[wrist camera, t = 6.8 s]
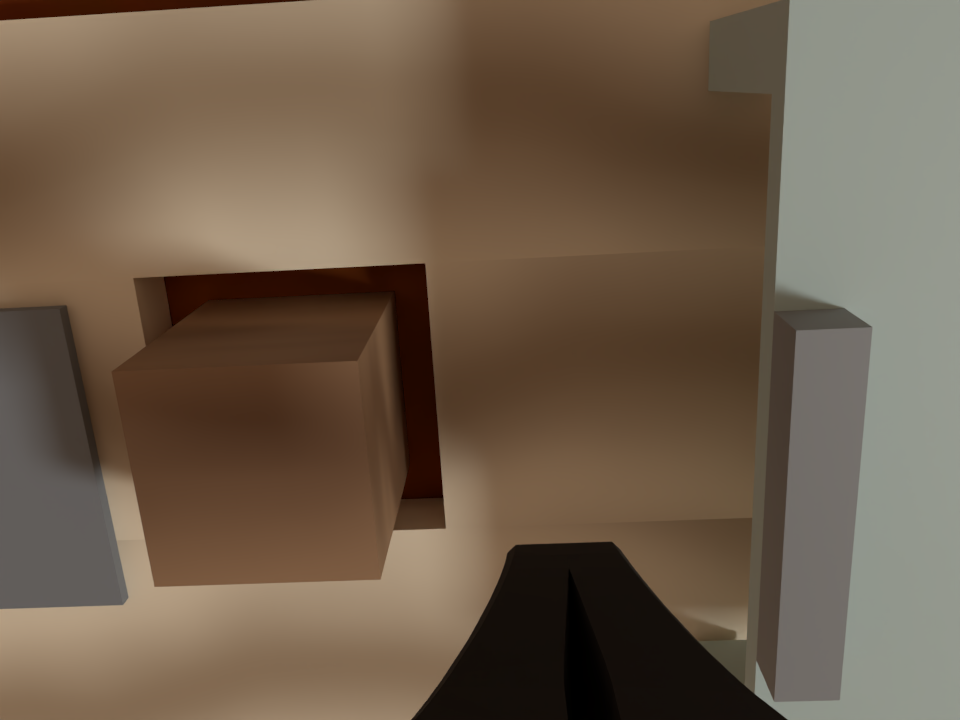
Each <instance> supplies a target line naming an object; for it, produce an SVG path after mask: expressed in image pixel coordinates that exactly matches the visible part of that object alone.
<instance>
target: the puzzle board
mask: <svg viewBox="0 0 960 720" xmlns="http://www.w3.org/2000/svg"><path fill="white" fill-rule="evenodd" d="M777 1H781V0H309V1H294V2H279V3H263V4H248V5H233V6H217V7H202V8H187V9H171V10H156V11H141V12H125V13H110V14H95V15H79V16H64V17H49V18H33V19H18V20H3V21H0V308H21V307H41V306H62V305H67V310H68V315H69V320H70V324H71V329H72V334H73V338H74V343H75V348H76V352H77V357H78V362H79V367H80V371H81V376H82V381H83V385H84V390H85V395H86V400H87V404H88V409H89V414H90V418H91V423H92V428H93V432H94V437H95V442H96V447H97V451H98V456H99V461H100V465H101V470H102V475H103V479H104V484H105V489H106V494H107V498H108V503H109V508H110V512H111V517H112V522H113V527H114V531H115V536H116V541H117V545H118V550H119V555H120V559H121V564H122V569H123V574H124V578H125V583H126V588H127V592H128V597H129V598H128V599H127V600H126V602H125V603H124V605H111V606H80V607H49V608H18V609H0V720H411V719H412V718H413V717H414V716H415V714H416V713H417V712H418V711H419V710H420V708H421V707H422V706H423V704H424V703H425V702H426V701H427V699H428V698H429V697H430V695H431V694H432V692H433V691H434V690H435V688H436V687H437V686H438V684H439V683H440V682H441V680H442V679H443V677H444V676H445V674H446V673H447V671H448V670H449V668H450V666H451V665H452V663H453V662H454V660H455V659H456V657H457V656H458V654H459V653H460V651H461V650H462V648H463V647H464V645H465V644H466V642H467V640H468V639H469V637H470V635H471V634H472V632H473V630H474V628H475V626H476V624H477V623H478V621H479V619H480V617H481V615H482V613H483V611H484V610H485V608H486V606H487V604H488V602H489V600H490V598H491V596H492V594H493V592H494V589H495V587H496V585H497V583H498V580H499V578H500V575H501V573H502V570H503V567H504V564H505V561H506V556H507V553H508V552H509V551H510V550H511V549H512V548H513V547H514V546H515V545H522V544H552V543H582V542H613V543H614V544H615V545H616V546H617V547H618V548H619V549H620V550H621V551H622V552H623V554H624V555H625V557H626V558H627V559H628V561H629V562H630V563H631V565H632V566H633V567H634V569H635V570H636V571H637V572H638V574H639V575H640V576H641V577H642V579H643V580H644V581H645V582H646V584H647V585H648V586H649V587H650V588H651V590H652V591H653V592H654V593H655V594H656V596H657V597H658V598H659V599H660V600H661V601H662V603H663V604H664V605H665V606H666V607H667V608H668V609H669V611H670V612H671V613H672V614H673V615H674V616H675V617H676V618H677V619H678V620H679V621H680V622H681V623H682V625H683V626H684V627H685V628H686V629H687V630H688V631H689V632H690V633H691V634H692V635H693V636H694V637H695V639H696V640H697V641H721V640H747V622H748V600H749V578H750V557H751V535H752V513H753V492H754V470H755V448H756V426H757V405H758V383H759V361H760V339H761V318H762V296H763V274H764V253H765V231H766V209H767V187H768V166H769V144H770V122H771V100H772V94H761V93H741V92H720V91H708V80H709V38H710V21H713V20H716V19H720V18H723V17H726V16H730V15H733V14H737V13H740V12H743V11H747V10H750V9H754V8H757V7H760V6H764V5H767V4H770V3H774V2H777ZM422 263H425V267H426V279H427V292H428V305H429V318H430V331H431V343H432V356H433V369H434V382H435V395H436V408H437V420H438V433H439V446H440V459H441V472H442V485H443V497H444V498H423V499H401V501H400V505H399V509H398V513H397V517H396V521H395V525H394V529H393V533H392V537H391V541H390V545H389V549H388V552H387V556H386V560H385V564H384V568H383V572H382V576H381V580H355V581H324V582H294V583H263V584H232V585H202V586H171V587H154V582H153V577H152V572H151V567H150V562H149V557H148V552H147V547H146V542H145V537H144V532H143V527H142V522H141V517H140V512H139V507H138V502H137V497H136V492H135V487H134V482H133V477H132V472H131V467H130V462H129V457H128V452H127V447H126V442H125V437H124V432H123V427H122V422H121V417H120V412H119V407H118V402H117V397H116V392H115V387H114V382H113V377H112V371H113V370H114V369H116V368H117V367H119V366H120V365H121V364H123V363H124V362H125V361H127V360H128V359H129V358H131V357H132V356H133V355H135V354H136V353H137V352H139V351H140V350H142V349H143V348H144V347H146V346H147V345H148V344H150V343H151V342H152V341H154V340H155V339H156V338H158V337H159V336H161V335H162V334H163V333H165V332H166V331H167V330H169V329H170V328H171V327H172V322H171V316H170V310H169V304H168V299H167V293H166V287H165V282H164V276H183V275H203V274H223V273H243V272H263V271H283V270H303V269H322V268H342V267H362V266H382V265H402V264H422Z"/></svg>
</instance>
